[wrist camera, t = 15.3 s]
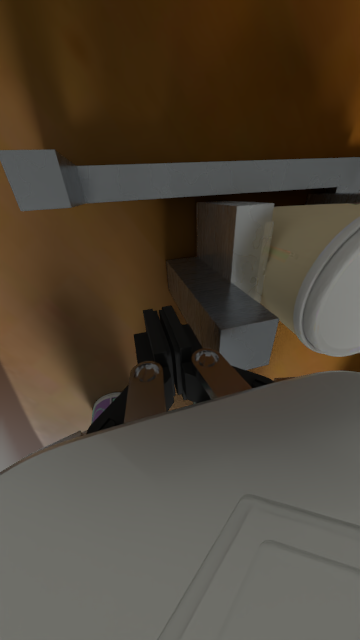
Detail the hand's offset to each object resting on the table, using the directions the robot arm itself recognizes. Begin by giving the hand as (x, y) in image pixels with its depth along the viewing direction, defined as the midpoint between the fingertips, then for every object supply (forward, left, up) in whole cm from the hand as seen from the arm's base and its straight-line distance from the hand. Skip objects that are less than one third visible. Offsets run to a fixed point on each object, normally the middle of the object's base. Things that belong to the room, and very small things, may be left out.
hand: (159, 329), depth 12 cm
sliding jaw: (0, -5, -9) cm, 10 cm away
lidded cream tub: (+1, -12, -9) cm, 15 cm away
